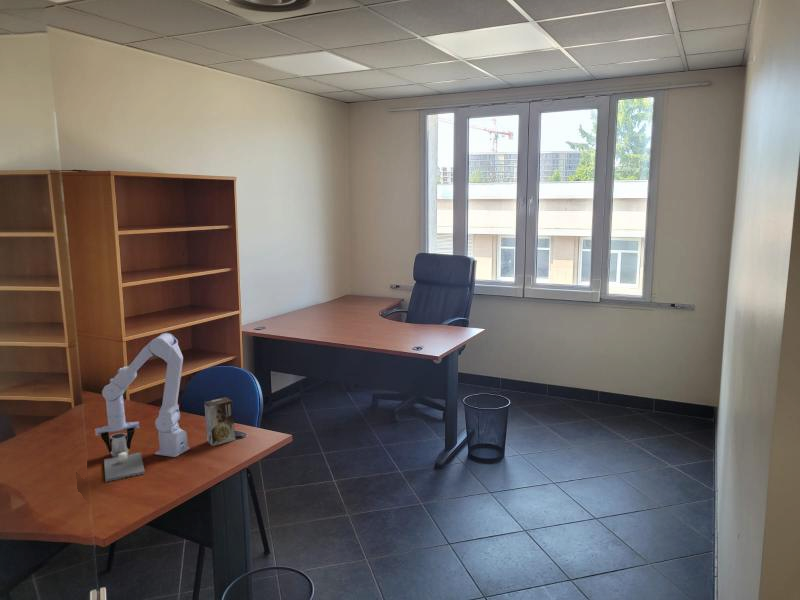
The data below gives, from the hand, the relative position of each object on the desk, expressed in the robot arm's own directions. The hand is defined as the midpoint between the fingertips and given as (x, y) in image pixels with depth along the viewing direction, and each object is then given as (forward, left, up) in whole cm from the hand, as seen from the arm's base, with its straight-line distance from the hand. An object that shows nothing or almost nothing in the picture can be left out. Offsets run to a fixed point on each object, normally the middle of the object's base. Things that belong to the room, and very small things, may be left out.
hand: (119, 449), depth 215 cm
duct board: (-11, +9, -2) cm, 14 cm away
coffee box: (-29, -21, -2) cm, 36 cm away
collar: (0, 0, -2) cm, 2 cm away
